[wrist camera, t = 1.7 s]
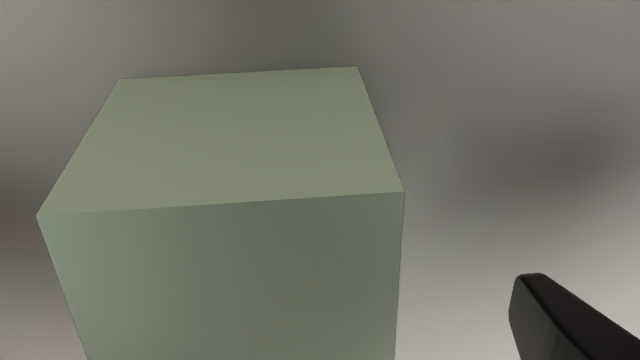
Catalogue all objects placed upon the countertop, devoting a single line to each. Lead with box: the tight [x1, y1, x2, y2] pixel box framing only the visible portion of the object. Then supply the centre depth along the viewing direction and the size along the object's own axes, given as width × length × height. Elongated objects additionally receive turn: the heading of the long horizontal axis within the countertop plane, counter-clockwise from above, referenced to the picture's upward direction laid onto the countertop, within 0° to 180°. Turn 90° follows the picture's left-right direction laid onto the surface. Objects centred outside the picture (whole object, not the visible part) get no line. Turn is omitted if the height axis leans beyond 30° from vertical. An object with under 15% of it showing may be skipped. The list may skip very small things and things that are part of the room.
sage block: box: [36, 66, 405, 360], centre depth 11 cm, size 5×5×5 cm
